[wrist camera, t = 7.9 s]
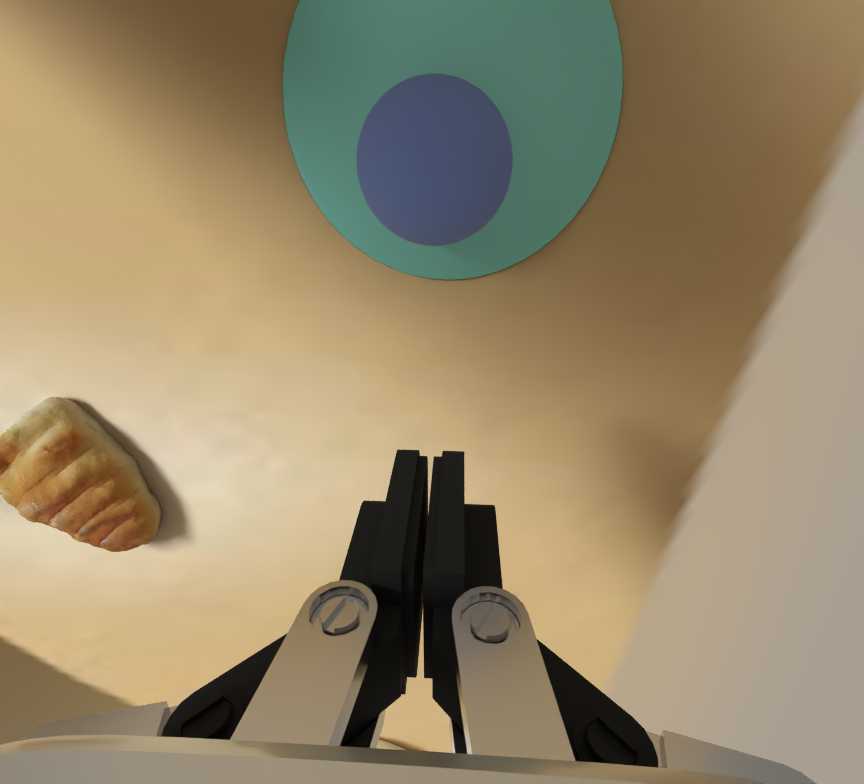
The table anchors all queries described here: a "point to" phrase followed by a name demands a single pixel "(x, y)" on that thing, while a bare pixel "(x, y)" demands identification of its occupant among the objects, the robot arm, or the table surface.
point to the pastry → (76, 478)
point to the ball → (434, 159)
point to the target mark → (484, 68)
